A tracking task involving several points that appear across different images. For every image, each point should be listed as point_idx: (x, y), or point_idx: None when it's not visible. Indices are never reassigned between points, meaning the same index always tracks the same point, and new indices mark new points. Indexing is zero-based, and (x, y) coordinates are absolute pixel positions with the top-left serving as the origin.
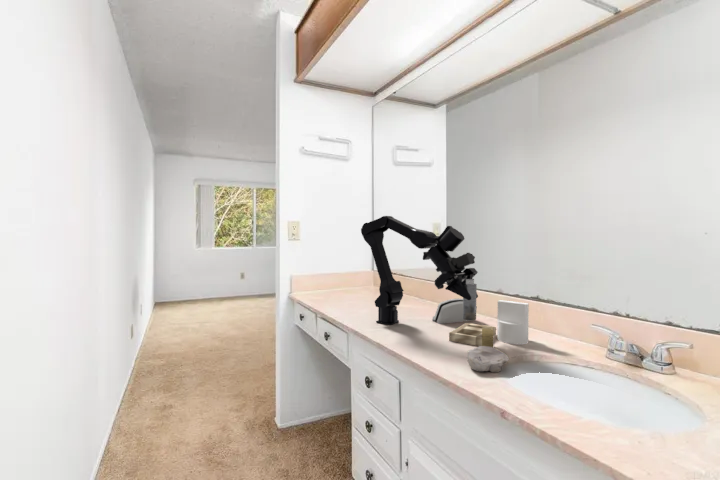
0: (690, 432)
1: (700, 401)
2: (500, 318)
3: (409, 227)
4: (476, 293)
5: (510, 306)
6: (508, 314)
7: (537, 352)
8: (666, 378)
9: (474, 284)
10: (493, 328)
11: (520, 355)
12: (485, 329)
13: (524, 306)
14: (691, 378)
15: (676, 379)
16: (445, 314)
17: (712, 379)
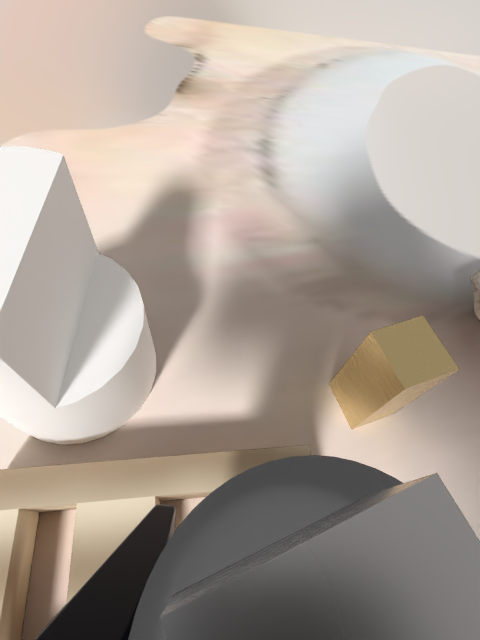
0: (461, 64)
1: (321, 43)
2: (56, 382)
3: None
4: (148, 533)
5: (42, 260)
6: (59, 311)
7: (217, 255)
8: (230, 58)
9: (322, 498)
10: (31, 469)
11: (297, 291)
12: (446, 352)
13: (66, 171)
14: (198, 34)
15: (224, 49)
16: None
17: (179, 17)
